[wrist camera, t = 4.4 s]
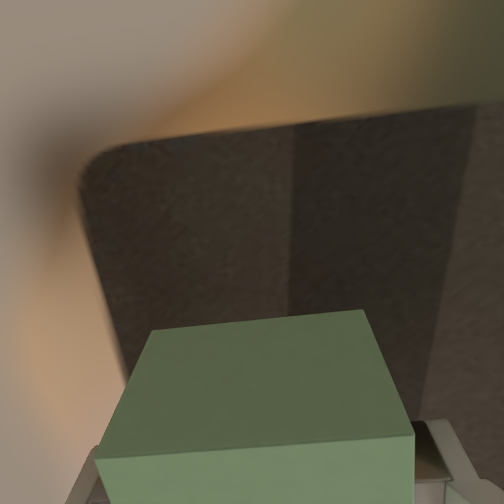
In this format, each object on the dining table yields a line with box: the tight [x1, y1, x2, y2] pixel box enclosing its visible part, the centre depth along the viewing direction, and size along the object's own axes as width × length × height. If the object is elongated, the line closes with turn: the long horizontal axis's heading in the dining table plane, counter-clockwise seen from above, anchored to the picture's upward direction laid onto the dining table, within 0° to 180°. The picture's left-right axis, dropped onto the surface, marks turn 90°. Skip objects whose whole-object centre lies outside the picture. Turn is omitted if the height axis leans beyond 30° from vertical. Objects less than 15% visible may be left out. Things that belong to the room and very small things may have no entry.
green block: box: [94, 309, 415, 504], centre depth 10 cm, size 6×6×4 cm
